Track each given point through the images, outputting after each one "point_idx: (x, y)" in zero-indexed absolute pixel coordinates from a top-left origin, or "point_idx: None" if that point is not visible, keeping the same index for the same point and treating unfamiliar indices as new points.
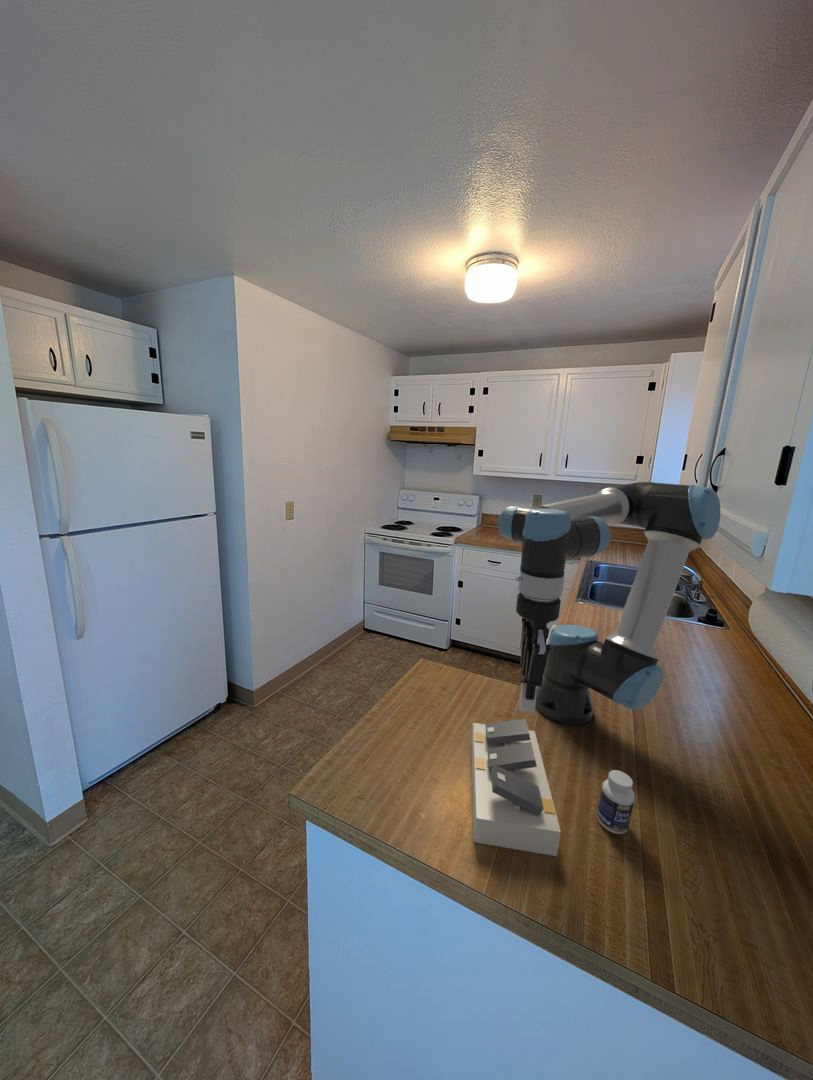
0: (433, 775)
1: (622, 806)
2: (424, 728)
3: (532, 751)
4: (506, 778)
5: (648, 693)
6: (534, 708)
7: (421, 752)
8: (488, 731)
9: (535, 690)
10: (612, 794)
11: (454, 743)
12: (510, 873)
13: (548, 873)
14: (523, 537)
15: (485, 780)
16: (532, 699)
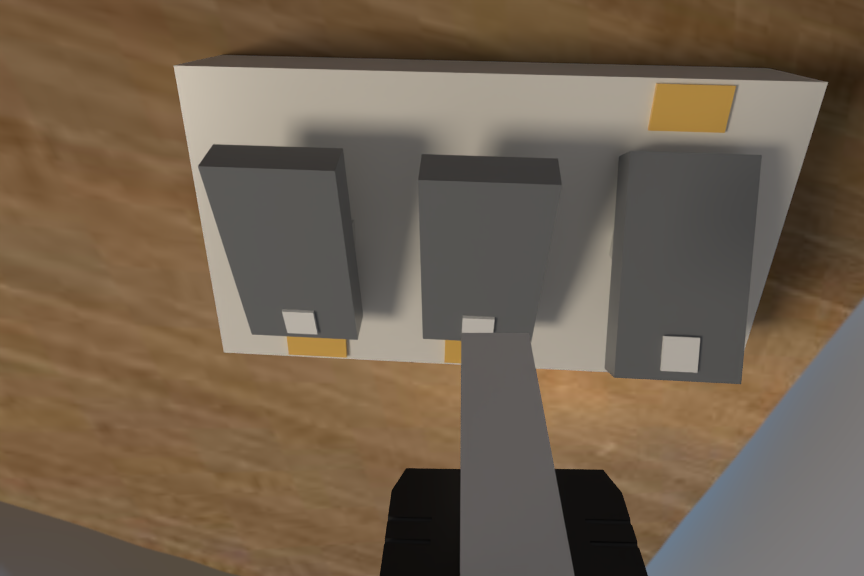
0: (455, 423)
1: None
2: (243, 448)
3: (497, 185)
4: (672, 325)
5: None
6: (532, 361)
7: (363, 454)
8: (315, 331)
9: (557, 521)
10: None
11: (287, 362)
12: (810, 236)
13: (826, 114)
14: None
15: (560, 336)
16: (606, 488)
